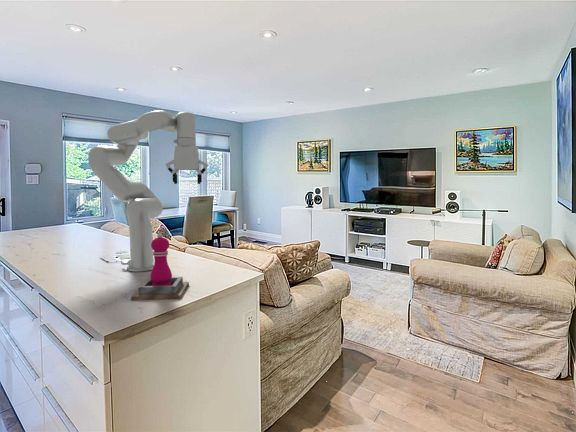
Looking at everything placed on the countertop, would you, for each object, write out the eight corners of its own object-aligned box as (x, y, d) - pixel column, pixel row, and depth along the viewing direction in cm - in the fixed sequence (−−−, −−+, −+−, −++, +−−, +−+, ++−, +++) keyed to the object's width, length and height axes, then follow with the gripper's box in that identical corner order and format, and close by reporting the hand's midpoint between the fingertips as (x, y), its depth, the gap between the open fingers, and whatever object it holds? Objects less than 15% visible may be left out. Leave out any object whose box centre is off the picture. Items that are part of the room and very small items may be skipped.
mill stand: (131, 300, 116) (130, 289, 116) (145, 285, 132) (145, 276, 131) (180, 298, 118) (180, 288, 117) (188, 284, 133) (188, 275, 133)
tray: (167, 257, 184) (167, 250, 183) (110, 268, 165) (109, 260, 164) (151, 251, 199) (151, 245, 198) (98, 260, 180) (97, 253, 179)
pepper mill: (165, 292, 121) (163, 235, 119) (146, 290, 122) (144, 234, 120) (176, 286, 128) (174, 232, 126) (158, 284, 129) (156, 231, 127)
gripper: (163, 141, 142) (164, 183, 144) (206, 142, 144) (207, 184, 145) (167, 143, 149) (168, 183, 151) (208, 144, 151) (209, 183, 153)
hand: (187, 183), depth 148 cm, fingers open, 9 cm apart
